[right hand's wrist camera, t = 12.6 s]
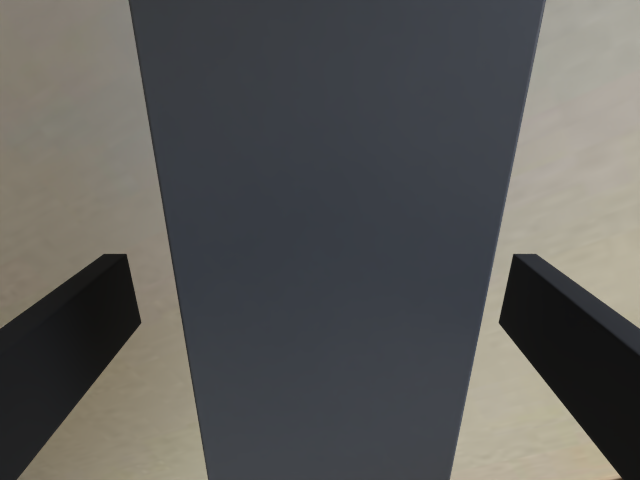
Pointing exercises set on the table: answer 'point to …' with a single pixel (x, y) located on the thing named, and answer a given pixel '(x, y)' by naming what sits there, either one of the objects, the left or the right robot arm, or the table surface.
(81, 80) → the table surface
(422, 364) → the bar
